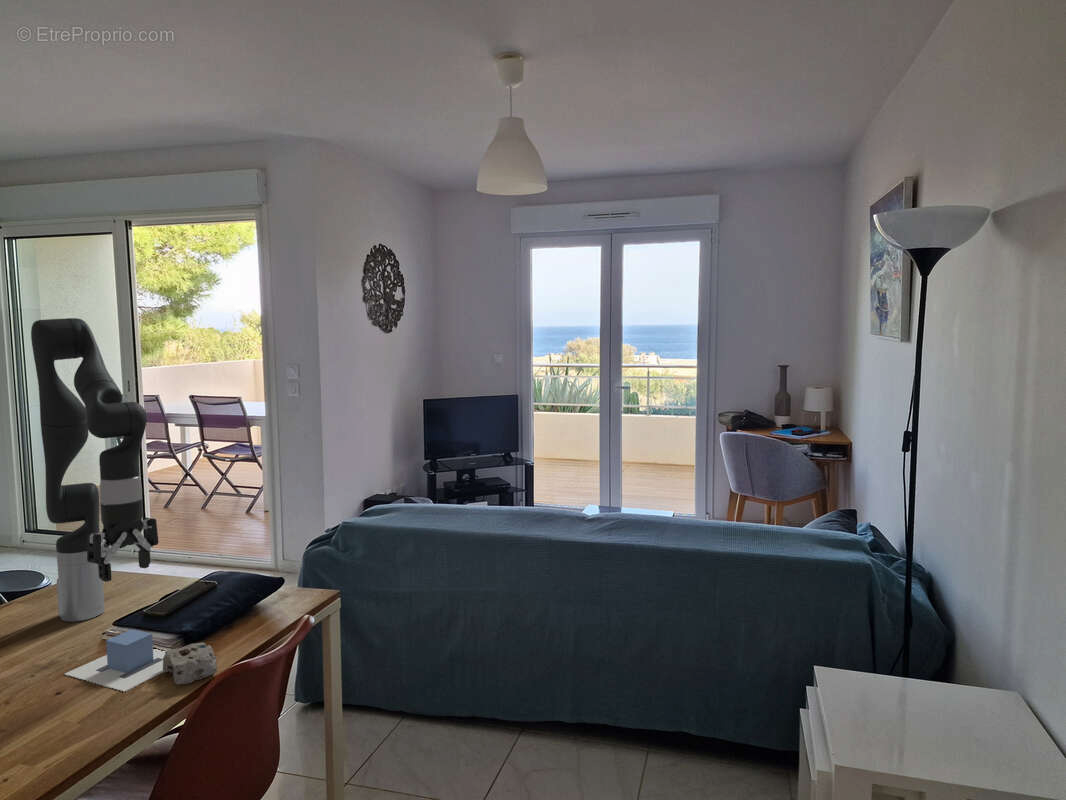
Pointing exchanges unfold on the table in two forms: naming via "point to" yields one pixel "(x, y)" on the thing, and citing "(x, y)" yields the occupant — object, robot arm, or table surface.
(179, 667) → the stone
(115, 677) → the letter card
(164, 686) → the table surface
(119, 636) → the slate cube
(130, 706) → the table surface
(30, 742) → the table surface
